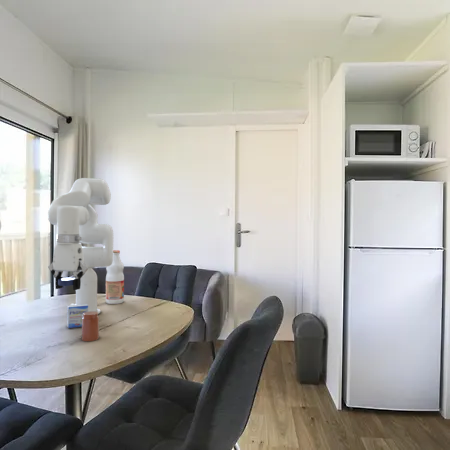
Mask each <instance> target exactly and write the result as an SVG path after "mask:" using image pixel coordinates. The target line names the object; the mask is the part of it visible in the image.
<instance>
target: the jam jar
mask: <svg viewBox="0 0 450 450" xmlns="http://www.w3.org/2000/svg"><path fill="white" fill-rule="evenodd" d="M99 338H100V316H99V314H98V312H85V313H83V317H82V327H81V341H83V342H94V341H97V340H99Z"/></svg>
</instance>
